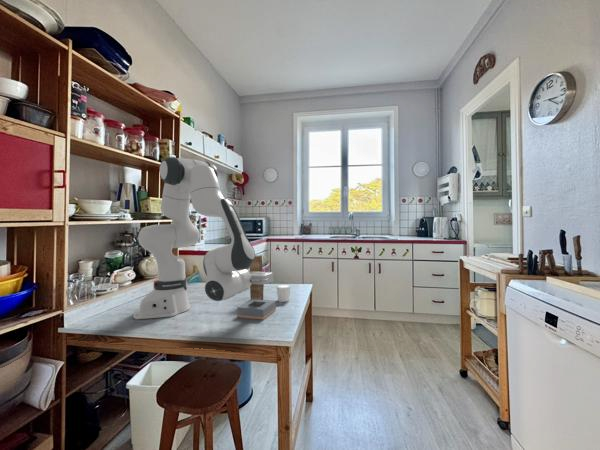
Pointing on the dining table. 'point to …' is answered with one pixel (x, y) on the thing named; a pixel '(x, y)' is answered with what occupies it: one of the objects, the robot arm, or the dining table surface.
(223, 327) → the dining table surface
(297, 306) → the dining table surface
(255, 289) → the block
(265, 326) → the dining table surface
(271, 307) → the end cap
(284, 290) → the shot glass
